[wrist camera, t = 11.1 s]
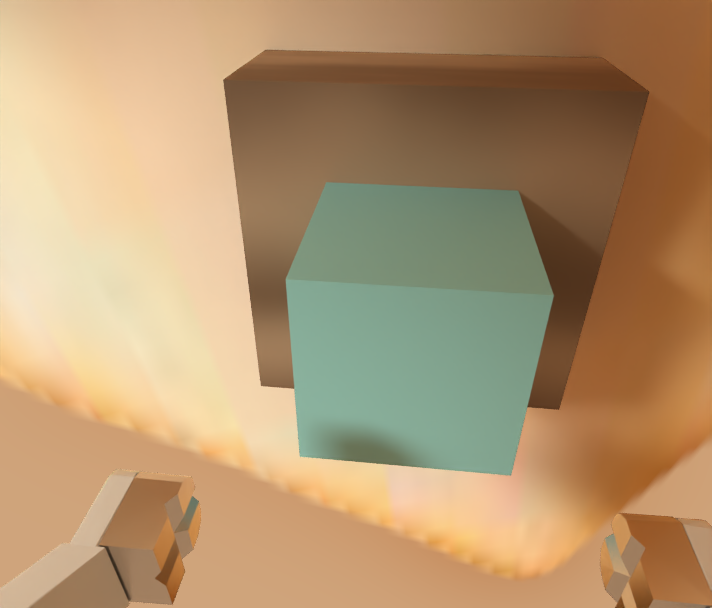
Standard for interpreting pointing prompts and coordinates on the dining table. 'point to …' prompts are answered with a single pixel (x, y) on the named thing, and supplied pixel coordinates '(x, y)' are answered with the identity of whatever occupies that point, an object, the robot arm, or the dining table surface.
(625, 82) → the walnut base
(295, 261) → the teal cube
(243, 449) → the dining table surface
